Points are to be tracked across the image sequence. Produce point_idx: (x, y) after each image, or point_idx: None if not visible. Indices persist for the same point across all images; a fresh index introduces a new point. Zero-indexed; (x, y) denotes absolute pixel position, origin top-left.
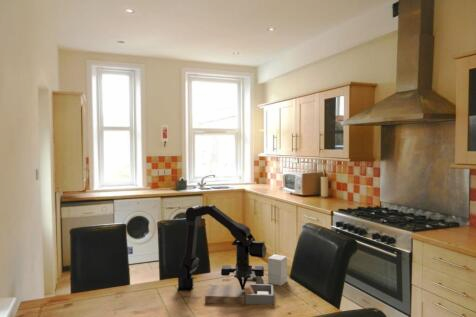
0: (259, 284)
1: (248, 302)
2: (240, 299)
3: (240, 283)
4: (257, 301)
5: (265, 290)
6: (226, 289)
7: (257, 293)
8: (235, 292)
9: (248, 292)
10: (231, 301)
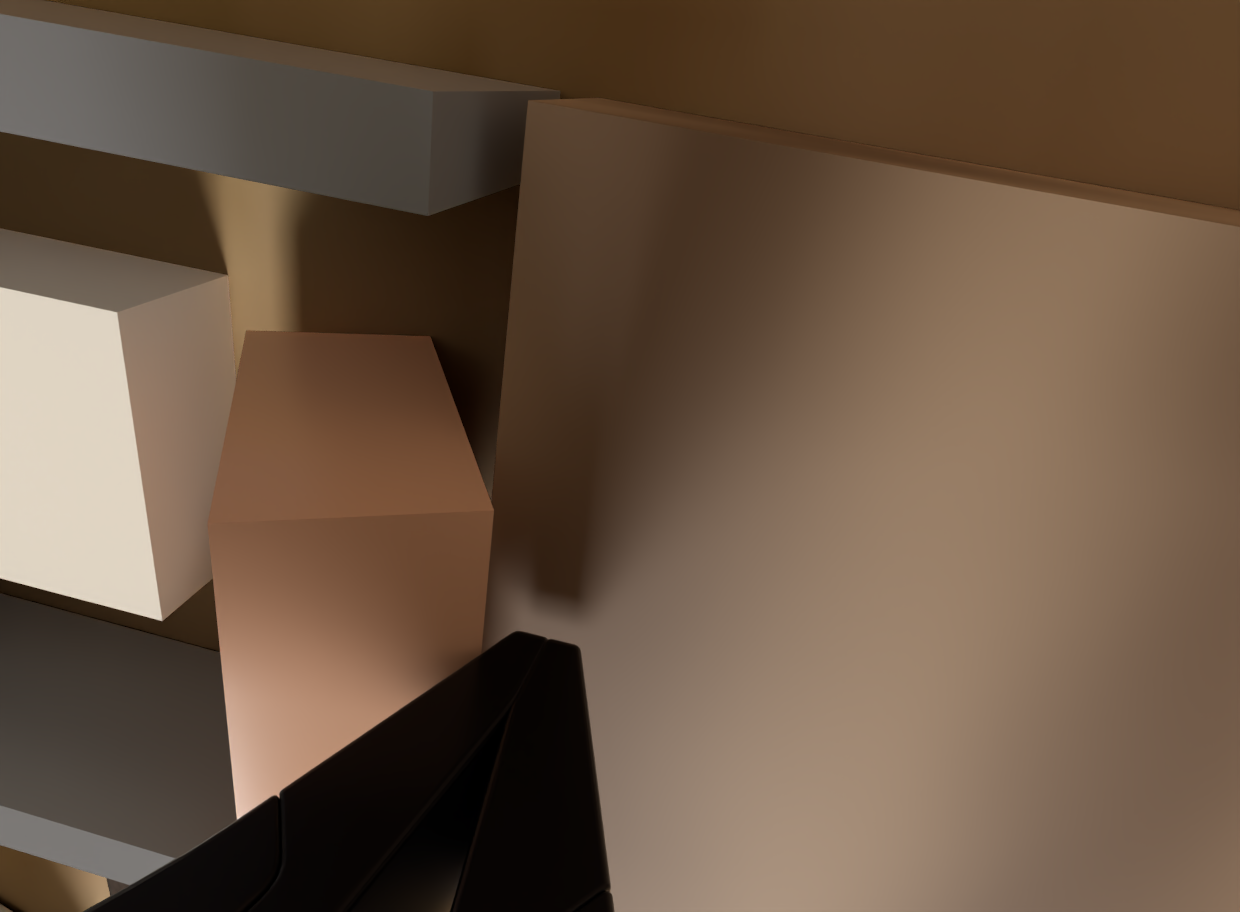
0: (46, 839)
1: (446, 71)
2: (716, 124)
3: (562, 874)
4: (125, 19)
5: (24, 664)
6: (1136, 872)
7: (134, 481)
8: (849, 590)
9: (342, 434)
10: (1074, 188)
